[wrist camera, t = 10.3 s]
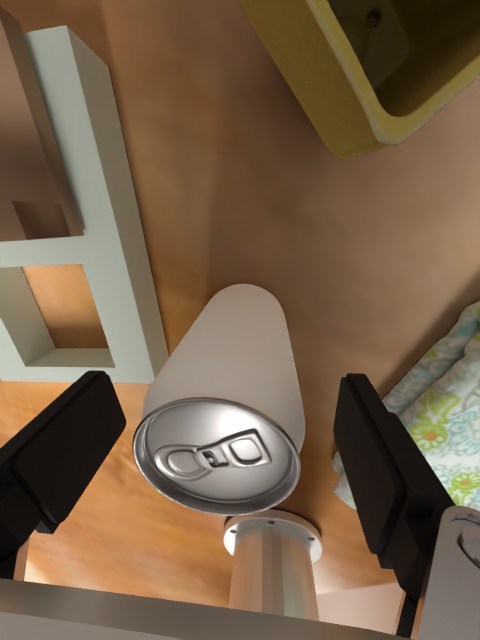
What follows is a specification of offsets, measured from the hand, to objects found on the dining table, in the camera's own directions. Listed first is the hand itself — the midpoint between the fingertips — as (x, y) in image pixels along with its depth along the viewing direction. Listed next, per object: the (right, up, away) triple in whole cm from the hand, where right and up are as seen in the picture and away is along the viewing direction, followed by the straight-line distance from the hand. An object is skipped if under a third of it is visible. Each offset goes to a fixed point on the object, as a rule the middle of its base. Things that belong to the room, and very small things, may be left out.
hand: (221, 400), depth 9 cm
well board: (-13, +8, +8) cm, 18 cm away
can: (+1, +3, +9) cm, 10 cm away
